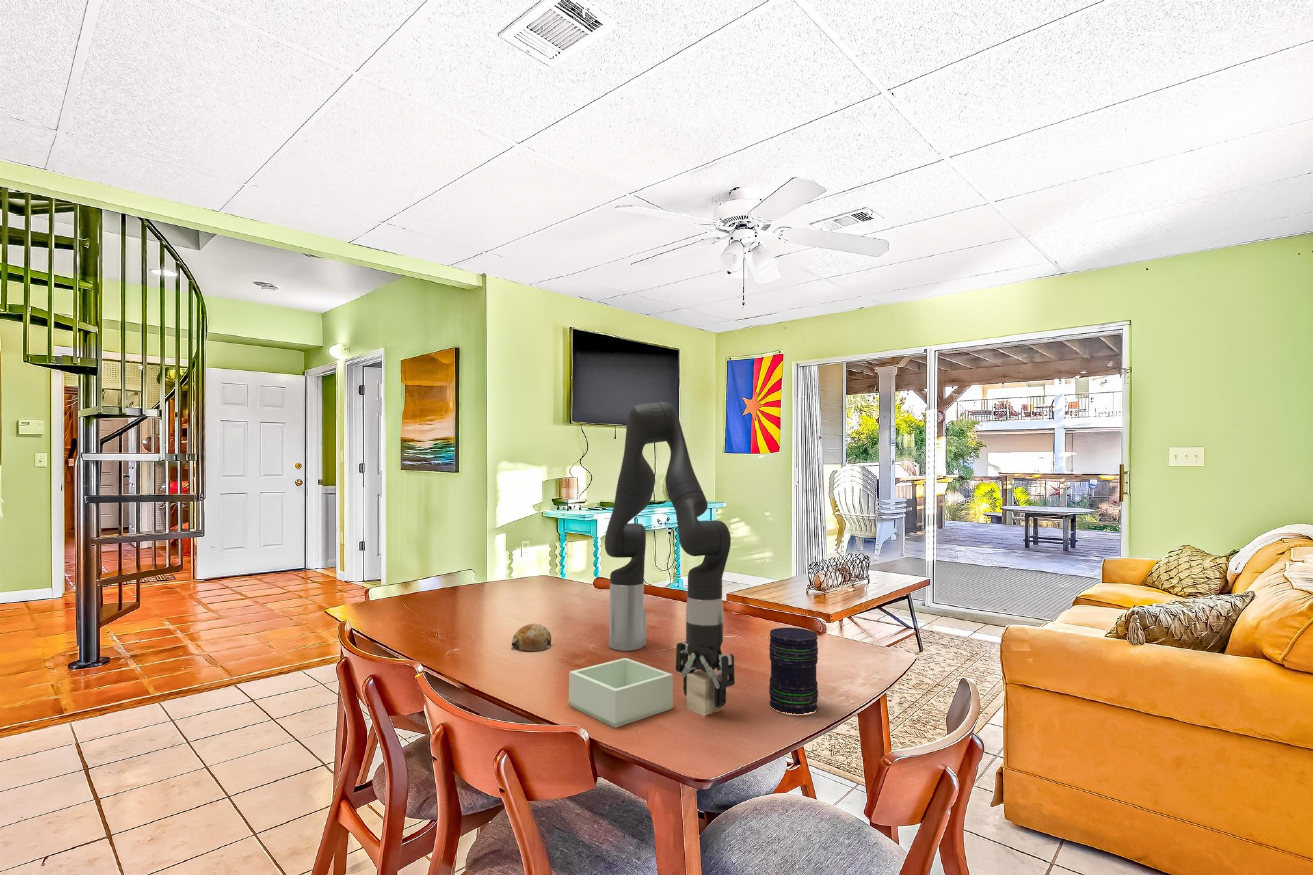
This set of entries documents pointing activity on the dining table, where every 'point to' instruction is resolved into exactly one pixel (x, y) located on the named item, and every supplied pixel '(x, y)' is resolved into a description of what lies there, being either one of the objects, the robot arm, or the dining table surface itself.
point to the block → (701, 693)
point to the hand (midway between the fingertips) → (704, 700)
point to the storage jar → (793, 670)
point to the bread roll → (532, 638)
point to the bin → (620, 691)
